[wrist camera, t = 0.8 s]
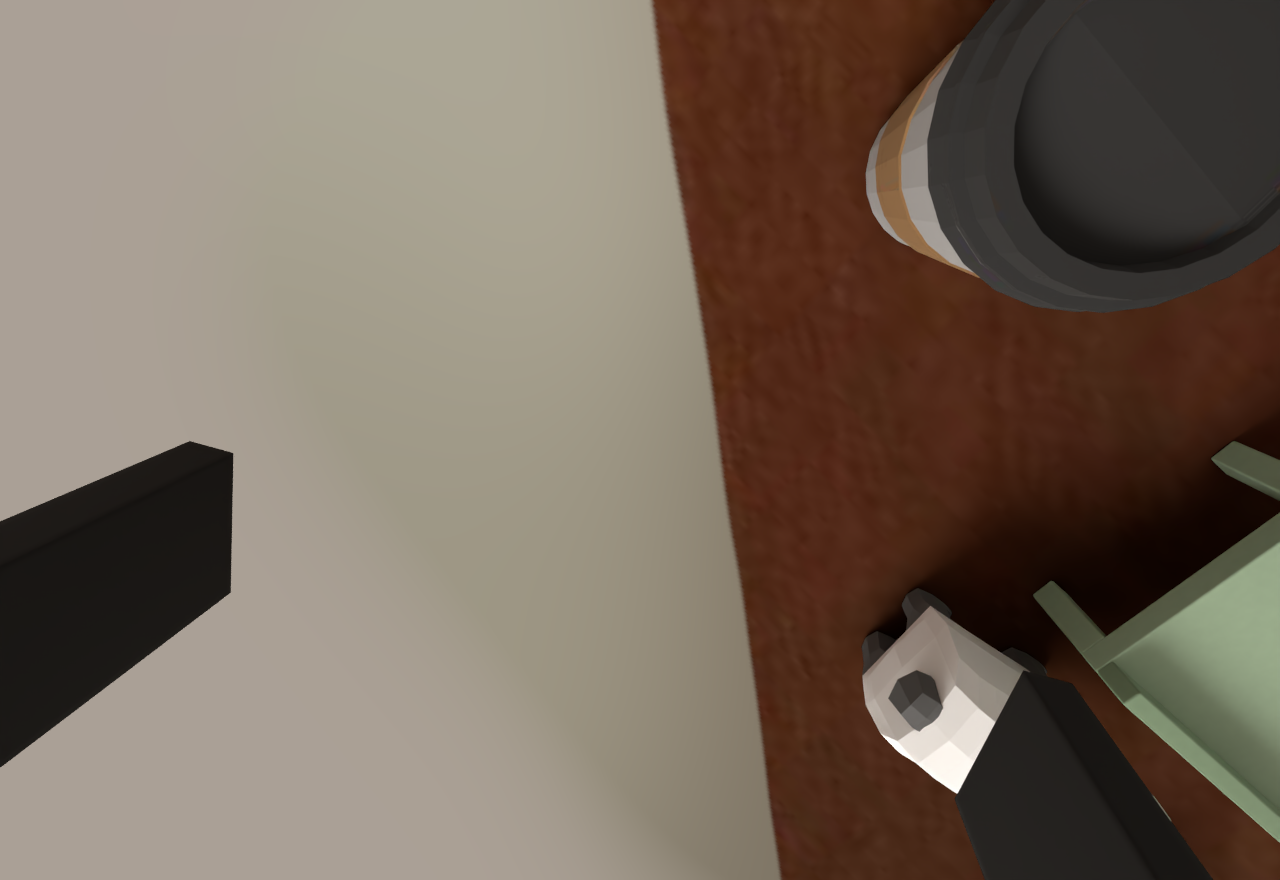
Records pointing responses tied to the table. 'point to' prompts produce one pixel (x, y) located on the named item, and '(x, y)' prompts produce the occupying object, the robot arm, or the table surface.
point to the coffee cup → (1092, 150)
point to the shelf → (1206, 656)
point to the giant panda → (938, 688)
